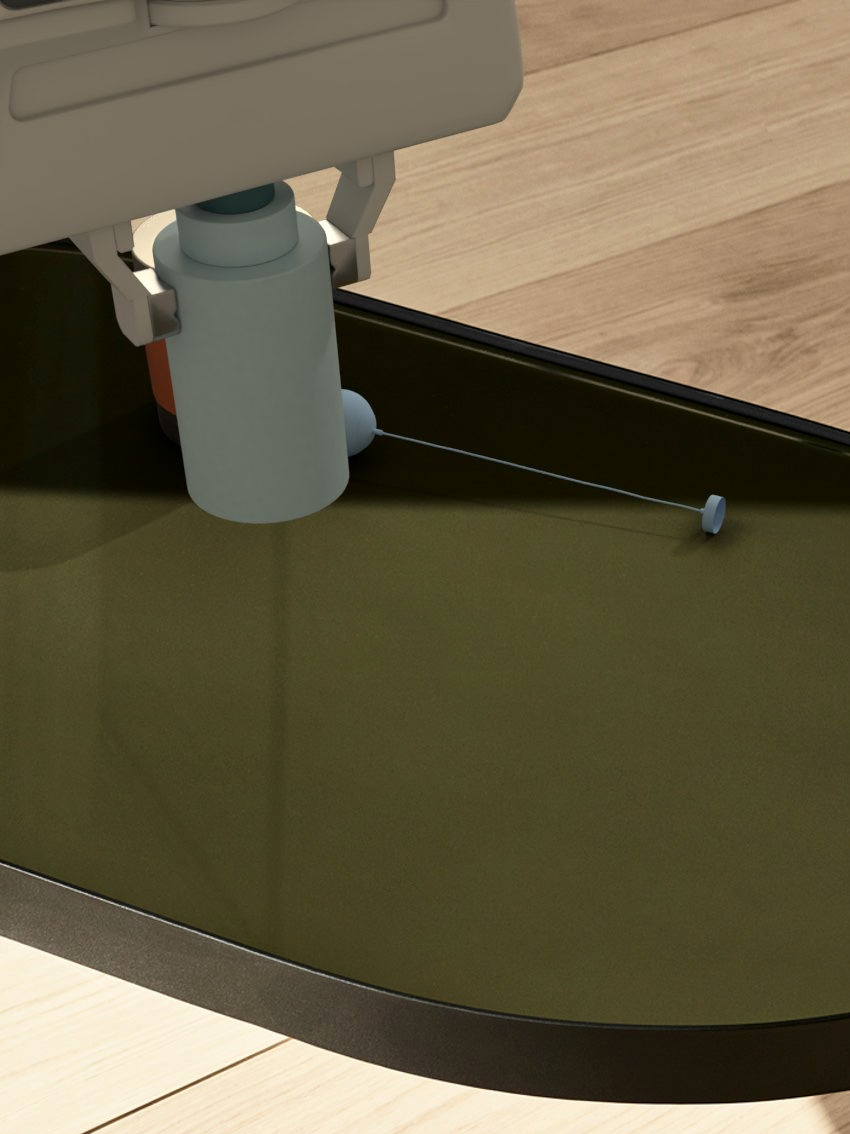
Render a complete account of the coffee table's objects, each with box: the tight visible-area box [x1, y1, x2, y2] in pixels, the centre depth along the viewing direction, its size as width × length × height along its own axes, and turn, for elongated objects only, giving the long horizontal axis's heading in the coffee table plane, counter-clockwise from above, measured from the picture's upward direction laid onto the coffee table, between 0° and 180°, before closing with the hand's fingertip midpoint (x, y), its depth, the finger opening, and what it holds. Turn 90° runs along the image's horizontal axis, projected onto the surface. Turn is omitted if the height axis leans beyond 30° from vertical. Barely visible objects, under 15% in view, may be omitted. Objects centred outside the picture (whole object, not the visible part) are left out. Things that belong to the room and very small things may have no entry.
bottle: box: [152, 180, 350, 525], centre depth 76 cm, size 6×6×12 cm
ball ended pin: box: [341, 388, 727, 534], centre depth 103 cm, size 3×20×3 cm, turn 69°
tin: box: [130, 204, 315, 447], centre depth 106 cm, size 9×9×9 cm
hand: (246, 306), depth 76 cm, fingers closed on bottle, 5 cm apart
